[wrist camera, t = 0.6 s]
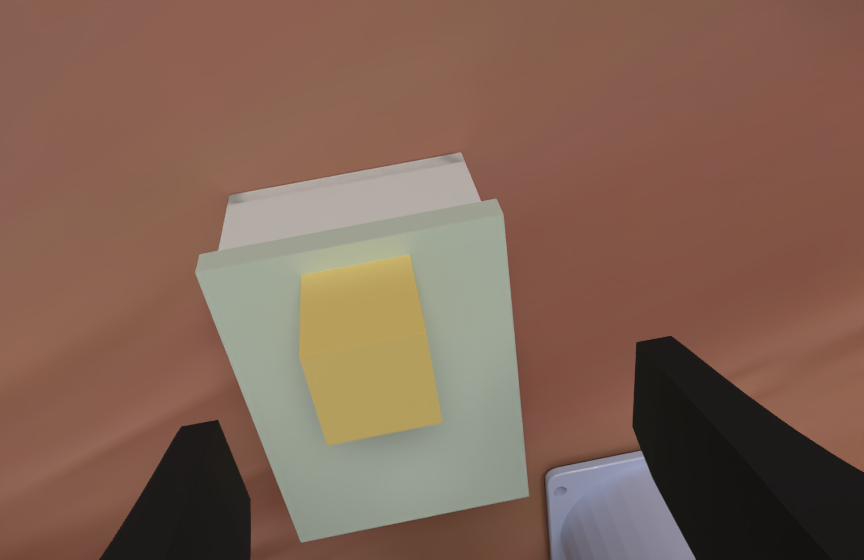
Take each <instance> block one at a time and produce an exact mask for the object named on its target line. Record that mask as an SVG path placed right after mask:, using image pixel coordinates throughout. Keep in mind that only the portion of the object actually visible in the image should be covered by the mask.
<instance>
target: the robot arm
mask: <svg viewBox="0 0 864 560" xmlns="http://www.w3.org/2000/svg"><path fill="white" fill-rule="evenodd" d="M632 427H633V429H634V432H635V435H636V437H637V440H638V443H639V445H640V448H641V451H637V452H632V453H627V454H622V455H617V456H612V457H607V458H602V459H597V460H592V461H587V462H582V463H577V464H572V465H567V466H562V467H557V468H554V469H552V470H550V471H549V472H548V473H547V474H546V476H545V486H546V500H547V515H548V529H549V543H550V558H551V560H864V472H862V471H860V470H859V469H857V468H855V467H853V466H852V465H850V464H848V463H847V462H845V461H843V460H842V459H840V458H838V457H837V456H835V455H833V454H832V453H830V452H829V451H827V450H826V449H824V448H823V447H821V446H820V445H818V444H816V443H815V442H813V441H812V440H810V439H809V438H807V437H806V436H804V435H803V434H801V433H800V432H798V431H797V430H795V429H794V428H792V427H791V426H789V425H788V424H787V423H785V422H784V421H782V420H781V419H779V418H778V417H777V416H775V415H774V414H773V413H771V412H770V411H768V410H767V409H766V408H764V407H763V406H762V405H760V404H759V403H757V402H756V401H755V400H753V399H752V398H751V397H749V396H748V395H747V394H745V393H744V392H743V391H741V390H740V389H739V388H737V387H736V386H735V385H733V384H732V383H731V382H729V381H728V380H727V379H726V378H724V377H723V376H722V375H720V374H719V373H718V372H717V371H715V370H714V369H713V368H712V367H710V366H709V365H708V364H706V363H705V362H704V361H703V360H701V359H700V358H699V357H698V356H696V355H695V354H694V353H693V352H691V351H690V350H689V349H688V348H686V347H685V346H684V345H682V344H681V343H680V342H678V341H677V340H676V339H675V338H673V337H672V336H668V337H662V338H657V339H652V340H646V341H641V342H637V343H636V363H635V384H634V405H633V426H632ZM250 547H251V512H250V497H249V495H248V492H247V490H246V487H245V485H244V482H243V480H242V477H241V475H240V473H239V470H238V468H237V465H236V463H235V460H234V458H233V456H232V453H231V451H230V448H229V446H228V443H227V441H226V438H225V436H224V434H223V431H222V429H221V426H220V424H219V421H218V420H215V421H209V422H204V423H199V424H193V425H188V426H182V427H181V428H180V430H179V431H178V432H177V434H176V436H175V437H174V439H173V441H172V442H171V444H170V446H169V448H168V449H167V451H166V453H165V454H164V456H163V458H162V460H161V461H160V463H159V465H158V467H157V468H156V470H155V472H154V473H153V475H152V477H151V478H150V480H149V482H148V484H147V485H146V487H145V489H144V490H143V492H142V494H141V495H140V497H139V499H138V500H137V502H136V503H135V505H134V507H133V508H132V510H131V511H130V513H129V515H128V516H127V518H126V519H125V521H124V522H123V524H122V526H121V527H120V529H119V530H118V532H117V534H116V535H115V537H114V538H113V540H112V541H111V543H110V544H109V546H108V547H107V549H106V550H105V552H104V553H103V555H102V556H101V558H100V559H99V560H250Z"/></svg>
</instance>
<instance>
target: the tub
mask: <svg viewBox="0 0 864 560" xmlns="http://www.w3.org/2000/svg"><path fill="white" fill-rule="evenodd" d="M476 202H481V200H480V198H479V195H478V193H477V190H476V188H475V185H474V183H473V181H472V178H471V176H470V173H469V171H468V168H467V166H466V163H465V161H464V159H463V156H462V154H461V153H455V154H450V155H444V156H439V157H434V158H428V159H423V160H417V161H412V162H407V163H401V164H396V165H390V166H385V167H380V168H374V169H369V170H363V171H358V172H353V173H347V174H342V175H336V176H331V177H325V178H320V179H315V180H309V181H304V182H298V183H293V184H288V185H282V186H277V187H271V188H266V189H261V190H255V191H250V192H244V193H239V194H234V195H229V200H228V205H227V210H226V215H225V220H224V225H223V230H222V235H221V240H220V245H219V250H218V251H220V250H225V249H231V248H236V247H241V246H247V245H252V244H257V243H263V242H268V241H273V240H279V239H284V238H289V237H295V236H300V235H305V234H311V233H316V232H321V231H327V230H332V229H337V228H343V227H348V226H353V225H359V224H364V223H369V222H375V221H380V220H385V219H391V218H396V217H401V216H407V215H412V214H417V213H423V212H428V211H433V210H439V209H444V208H449V207H455V206H460V205H465V204H471V203H476Z"/></svg>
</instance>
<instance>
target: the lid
mask: <svg viewBox="0 0 864 560" xmlns="http://www.w3.org/2000/svg"><path fill="white" fill-rule="evenodd" d="M195 273H196V276H197V279H198V281H199V284H200V286H201V289H202V291H203V294H204V296H205V299H206V302H207V304H208V307H209V309H210V312H211V314H212V317H213V319H214V322H215V325H216V327H217V330H218V332H219V335H220V337H221V340H222V342H223V345H224V348H225V350H226V353H227V355H228V358H229V360H230V363H231V365H232V368H233V371H234V373H235V376H236V378H237V381H238V383H239V386H240V388H241V391H242V394H243V396H244V399H245V401H246V404H247V406H248V409H249V411H250V414H251V417H252V419H253V422H254V424H255V427H256V429H257V432H258V434H259V437H260V440H261V442H262V445H263V447H264V450H265V452H266V455H267V457H268V460H269V463H270V465H271V468H272V470H273V473H274V475H275V478H276V480H277V483H278V486H279V488H280V491H281V493H282V496H283V498H284V501H285V503H286V506H287V508H288V511H289V514H290V516H291V519H292V521H293V524H294V526H295V529H296V531H297V534H298V537H299V539H300V542H301V543H302V542H307V541H312V540H316V539H321V538H326V537H331V536H336V535H341V534H346V533H351V532H356V531H361V530H366V529H371V528H376V527H381V526H385V525H390V524H395V523H400V522H405V521H410V520H415V519H420V518H425V517H430V516H435V515H440V514H445V513H450V512H454V511H459V510H464V509H469V508H474V507H479V506H484V505H489V504H494V503H499V502H504V501H509V500H514V499H519V498H523V497H528V496H529V491H528V480H527V469H526V458H525V447H524V436H523V425H522V414H521V403H520V391H519V380H518V369H517V358H516V347H515V336H514V325H513V314H512V303H511V292H510V281H509V270H508V259H507V248H506V237H505V226H504V215H503V212H502V210H501V208H500V206H499V204H498V201H497V199H492V200H486V201H481V202H476V203H471V204H465V205H460V206H455V207H449V208H444V209H439V210H433V211H428V212H423V213H417V214H412V215H407V216H401V217H396V218H391V219H385V220H380V221H375V222H369V223H364V224H359V225H353V226H348V227H343V228H337V229H332V230H327V231H321V232H316V233H311V234H305V235H300V236H295V237H289V238H284V239H279V240H273V241H268V242H263V243H257V244H252V245H247V246H241V247H236V248H231V249H225V250H220V251H215V252H209V253H204V254H200V255H199V259H198V263H197V267H196V272H195Z"/></svg>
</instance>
